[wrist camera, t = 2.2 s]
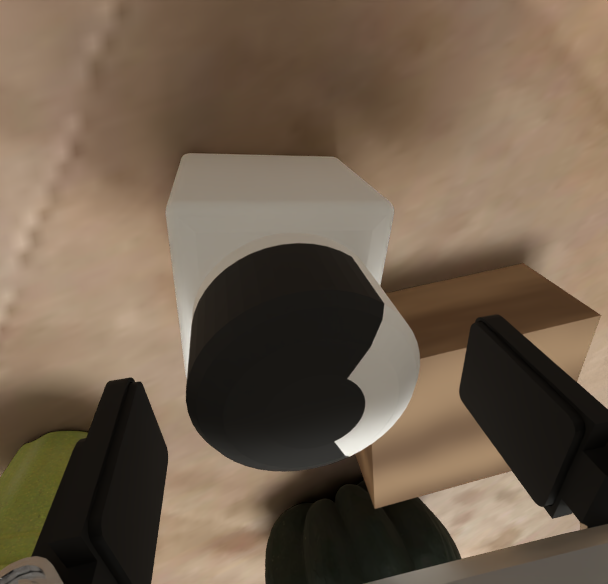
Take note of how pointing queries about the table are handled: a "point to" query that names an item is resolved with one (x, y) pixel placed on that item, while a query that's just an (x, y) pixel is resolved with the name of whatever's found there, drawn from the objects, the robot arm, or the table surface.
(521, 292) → the walnut block
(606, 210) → the table surface
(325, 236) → the medicine bottle
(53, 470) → the plant pot
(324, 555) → the squash
